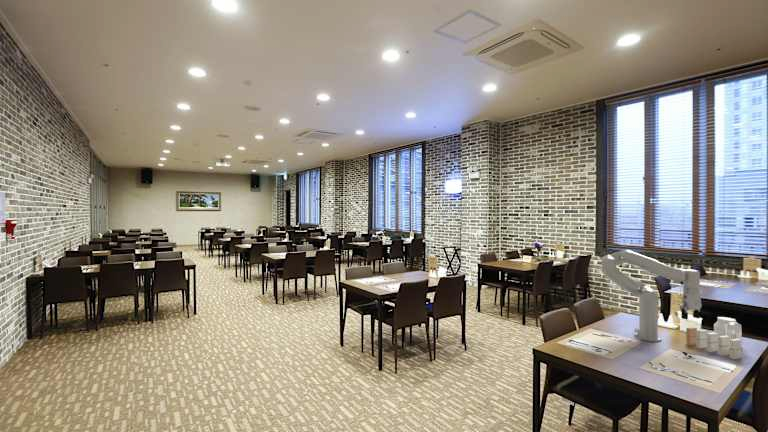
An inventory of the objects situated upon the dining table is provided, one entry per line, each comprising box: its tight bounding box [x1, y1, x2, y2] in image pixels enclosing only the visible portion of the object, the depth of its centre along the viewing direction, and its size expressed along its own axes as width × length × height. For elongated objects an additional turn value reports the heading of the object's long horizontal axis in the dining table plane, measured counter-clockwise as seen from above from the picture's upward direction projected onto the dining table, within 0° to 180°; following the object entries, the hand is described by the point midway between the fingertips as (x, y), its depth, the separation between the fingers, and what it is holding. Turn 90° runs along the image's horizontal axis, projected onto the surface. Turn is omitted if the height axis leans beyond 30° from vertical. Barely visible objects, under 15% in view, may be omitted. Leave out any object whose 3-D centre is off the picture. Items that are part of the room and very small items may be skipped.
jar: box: [713, 316, 737, 336], centre depth 221 cm, size 12×10×15 cm
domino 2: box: [696, 329, 708, 349], centre depth 214 cm, size 2×6×10 cm, turn 106°
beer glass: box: [725, 322, 743, 351], centre depth 211 cm, size 7×7×15 cm
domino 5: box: [729, 339, 742, 360], centre depth 198 cm, size 2×6×10 cm, turn 106°
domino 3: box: [706, 332, 718, 353], centre depth 209 cm, size 2×6×10 cm, turn 106°
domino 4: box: [717, 335, 730, 356], centre depth 204 cm, size 2×6×10 cm, turn 106°
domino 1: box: [685, 326, 698, 346], centre depth 219 cm, size 2×6×10 cm, turn 106°
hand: (690, 318), depth 220 cm, fingers open, 9 cm apart
